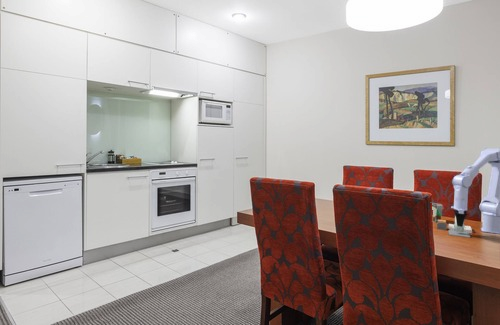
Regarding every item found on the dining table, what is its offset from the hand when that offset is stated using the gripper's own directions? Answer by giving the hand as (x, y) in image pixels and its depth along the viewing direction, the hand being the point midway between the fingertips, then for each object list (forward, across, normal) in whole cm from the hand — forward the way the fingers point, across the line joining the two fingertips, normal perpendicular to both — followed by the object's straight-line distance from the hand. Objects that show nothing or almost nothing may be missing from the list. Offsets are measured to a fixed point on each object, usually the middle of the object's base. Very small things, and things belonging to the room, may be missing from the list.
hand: (459, 225), depth 165 cm
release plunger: (+4, -8, -8) cm, 12 cm away
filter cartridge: (+3, 0, 0) cm, 3 cm away
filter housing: (+5, -11, -2) cm, 12 cm away
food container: (+5, -28, -10) cm, 30 cm away
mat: (+5, 0, 0) cm, 5 cm away
